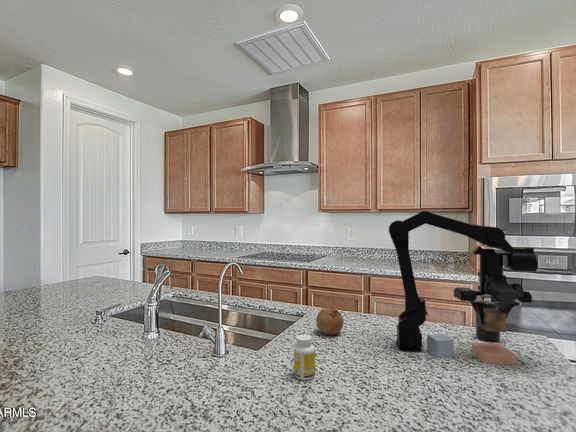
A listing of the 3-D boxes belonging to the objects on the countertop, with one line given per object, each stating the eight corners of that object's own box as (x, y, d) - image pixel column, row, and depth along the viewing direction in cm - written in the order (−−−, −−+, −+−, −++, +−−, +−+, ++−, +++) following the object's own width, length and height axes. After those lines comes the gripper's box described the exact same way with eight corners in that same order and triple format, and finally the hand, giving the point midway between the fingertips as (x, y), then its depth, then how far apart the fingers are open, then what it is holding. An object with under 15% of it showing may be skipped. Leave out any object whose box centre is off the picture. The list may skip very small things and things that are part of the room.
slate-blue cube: (437, 358, 91) (437, 340, 91) (427, 351, 96) (427, 334, 96) (453, 357, 91) (453, 339, 91) (442, 350, 96) (442, 333, 96)
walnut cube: (487, 331, 89) (487, 313, 89) (478, 325, 94) (478, 308, 94) (506, 331, 88) (506, 313, 88) (496, 325, 93) (496, 308, 93)
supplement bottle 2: (504, 343, 101) (503, 305, 101) (480, 341, 102) (480, 304, 103) (494, 335, 108) (494, 300, 108) (472, 334, 109) (472, 299, 109)
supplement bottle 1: (317, 372, 83) (317, 334, 83) (312, 382, 78) (311, 342, 78) (297, 369, 84) (297, 332, 85) (291, 379, 79) (290, 339, 79)
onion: (339, 344, 108) (348, 322, 105) (312, 337, 109) (320, 314, 105) (338, 326, 117) (346, 304, 114) (313, 319, 117) (321, 297, 114)
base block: (485, 364, 87) (484, 353, 87) (471, 352, 95) (471, 342, 95) (516, 365, 86) (516, 354, 86) (500, 353, 94) (499, 343, 94)
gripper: (469, 274, 84) (470, 333, 84) (546, 275, 82) (546, 336, 82) (452, 268, 95) (453, 320, 95) (519, 269, 93) (520, 322, 93)
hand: (491, 324), depth 91 cm, fingers closed on walnut cube, 5 cm apart
